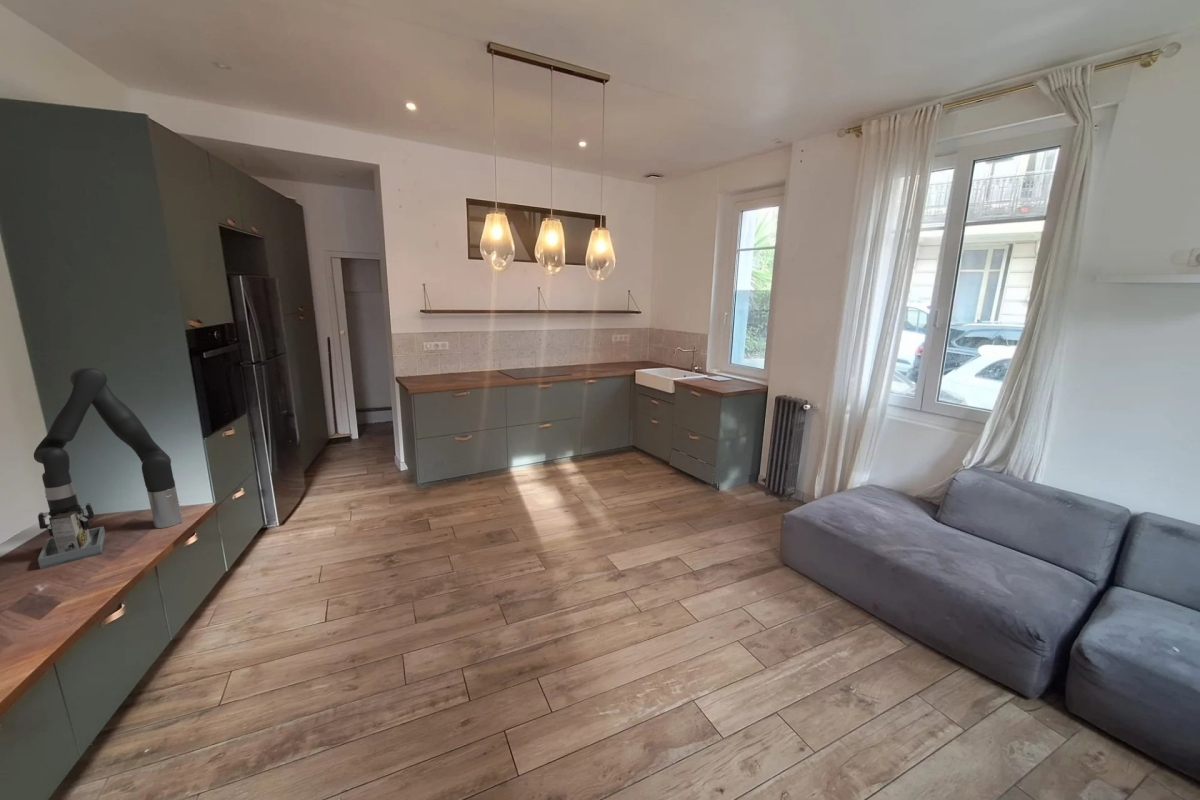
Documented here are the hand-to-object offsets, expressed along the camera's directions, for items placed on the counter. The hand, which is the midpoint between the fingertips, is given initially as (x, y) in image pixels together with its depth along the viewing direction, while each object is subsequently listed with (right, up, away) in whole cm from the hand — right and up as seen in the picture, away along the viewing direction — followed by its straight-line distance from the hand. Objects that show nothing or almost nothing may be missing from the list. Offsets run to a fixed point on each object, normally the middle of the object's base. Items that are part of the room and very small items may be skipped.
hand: (70, 532), depth 184 cm
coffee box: (0, -7, +2) cm, 7 cm away
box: (0, -8, +2) cm, 8 cm away
